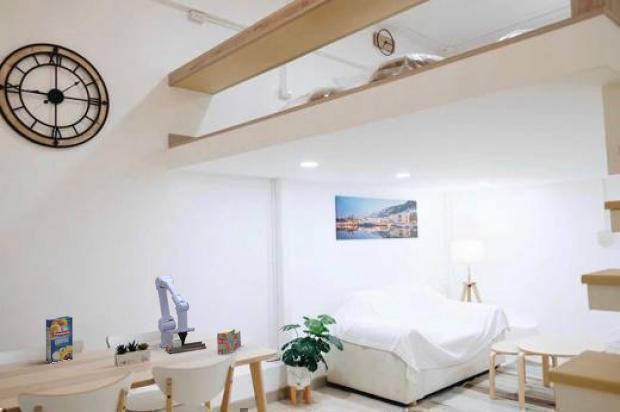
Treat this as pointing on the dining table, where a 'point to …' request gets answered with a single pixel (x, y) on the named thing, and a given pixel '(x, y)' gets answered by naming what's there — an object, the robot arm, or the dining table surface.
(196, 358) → the dining table surface
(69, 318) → the blue food box
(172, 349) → the chute
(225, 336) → the stack of blocks
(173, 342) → the sage block
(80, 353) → the dining table surface
